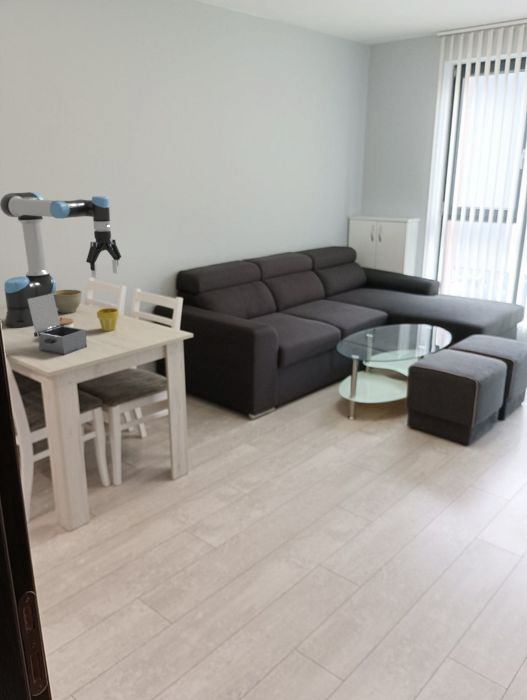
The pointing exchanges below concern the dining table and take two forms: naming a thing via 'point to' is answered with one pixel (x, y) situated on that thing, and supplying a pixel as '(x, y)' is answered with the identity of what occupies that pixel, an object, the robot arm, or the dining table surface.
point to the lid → (44, 313)
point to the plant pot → (108, 318)
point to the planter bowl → (67, 300)
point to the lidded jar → (66, 322)
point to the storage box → (62, 340)
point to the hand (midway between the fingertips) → (105, 275)
